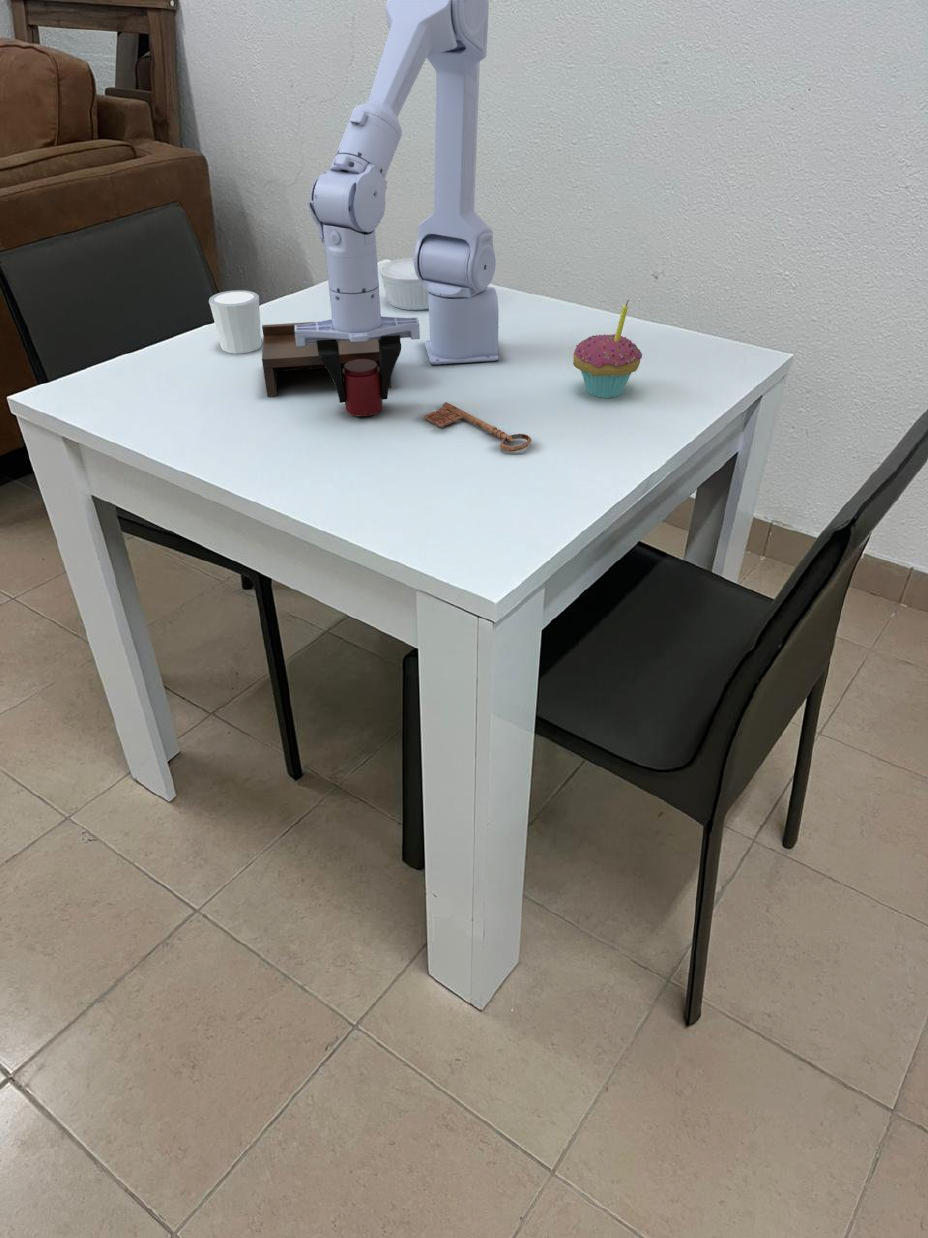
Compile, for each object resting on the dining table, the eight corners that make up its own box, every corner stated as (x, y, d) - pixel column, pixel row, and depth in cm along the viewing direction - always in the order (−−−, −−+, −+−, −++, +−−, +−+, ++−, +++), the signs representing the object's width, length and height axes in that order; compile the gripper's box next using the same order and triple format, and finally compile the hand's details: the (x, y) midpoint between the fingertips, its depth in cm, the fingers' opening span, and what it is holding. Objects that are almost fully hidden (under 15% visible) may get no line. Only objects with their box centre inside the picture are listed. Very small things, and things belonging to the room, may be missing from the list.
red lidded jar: (381, 399, 117) (378, 356, 113) (384, 414, 113) (381, 371, 109) (344, 402, 116) (340, 359, 113) (346, 417, 112) (342, 373, 109)
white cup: (271, 338, 135) (264, 289, 131) (258, 355, 130) (250, 305, 125) (225, 336, 136) (217, 288, 131) (210, 354, 130) (201, 304, 126)
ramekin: (374, 311, 144) (372, 276, 141) (390, 288, 152) (388, 255, 149) (444, 314, 142) (444, 279, 139) (457, 291, 151) (456, 258, 148)
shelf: (385, 362, 127) (383, 317, 124) (391, 388, 120) (388, 341, 116) (268, 369, 125) (262, 324, 122) (267, 396, 118) (260, 349, 115)
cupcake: (645, 384, 121) (655, 291, 113) (626, 409, 114) (636, 313, 107) (582, 373, 123) (589, 282, 116) (560, 397, 117) (566, 303, 110)
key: (421, 419, 113) (498, 462, 104) (420, 412, 113) (498, 455, 103) (458, 402, 116) (537, 444, 106) (457, 396, 115) (537, 437, 106)
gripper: (289, 301, 101) (304, 415, 110) (420, 293, 103) (425, 406, 111) (289, 281, 107) (303, 391, 115) (414, 274, 109) (418, 383, 117)
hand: (362, 397), depth 114 cm, fingers closed on red lidded jar, 4 cm apart
